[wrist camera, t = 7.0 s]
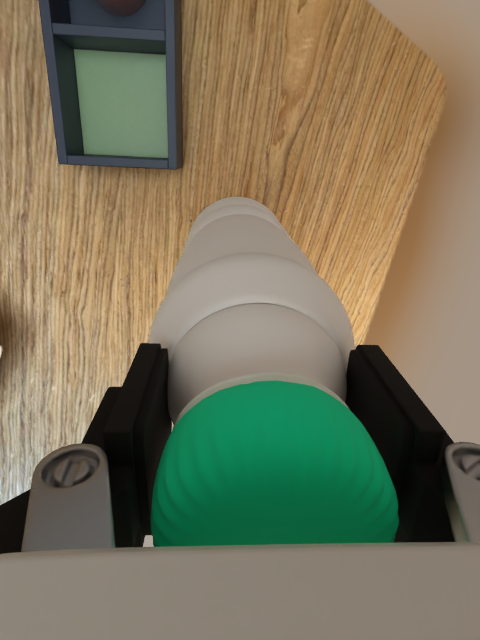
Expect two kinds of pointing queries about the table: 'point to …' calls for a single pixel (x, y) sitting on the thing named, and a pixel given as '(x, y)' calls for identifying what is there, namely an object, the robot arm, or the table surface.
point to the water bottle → (260, 397)
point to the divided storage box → (115, 83)
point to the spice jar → (121, 6)
